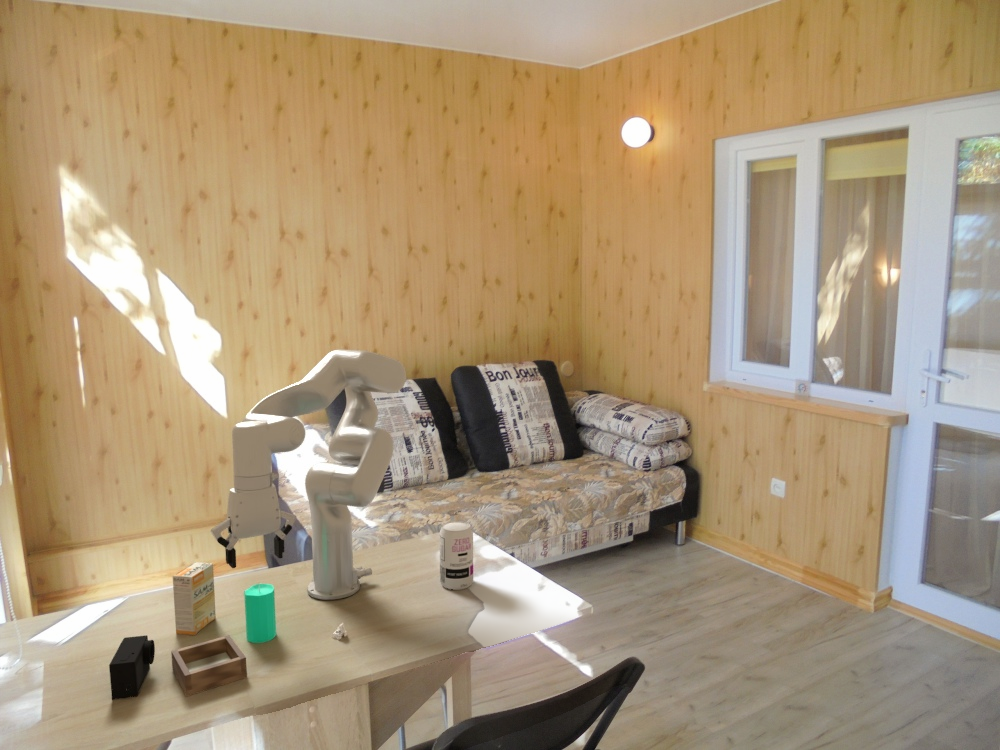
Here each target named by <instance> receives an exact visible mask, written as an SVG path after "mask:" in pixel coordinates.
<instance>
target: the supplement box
mask: <svg viewBox="0 0 1000 750" xmlns="http://www.w3.org/2000/svg"><path fill="white" fill-rule="evenodd" d="M214 575H215V574H214V563H210V562H196V561H195V562H193V563H191V564H190V565H189V566H187V567H185V568H184V569H182V570H181V571H179V572H177V573H175V574H173V575H172V586H173V587H172V588H173V603H174V620H175V633H176V634H181V635H190V636H195V635H196V634H198V632H200V631H201V630H202V629H204V628H205V627H206V626H207V625H209V624H210V623H211V622H213V621H214V620H215V619H217V617H216V616H217V615H216V599H215V598H216V596H215V578H214V577H215V576H214Z"/></svg>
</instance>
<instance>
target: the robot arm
mask: <svg viewBox="0 0 1000 750" xmlns="http://www.w3.org/2000/svg"><path fill="white" fill-rule="evenodd" d="M406 381H407V373H406V369H405V366H404V365H403V363H402V362H401V361H399V360H398V359H397V358H396V359H395V358H392V357H389V356H385V355H383V354H380V353H377V352H374V351H370V350H369V351H368V350H363V349H361V350H359V349H335V350H332V351H330V352H328V353H327V354H326V355H325V356H324V357H323V358H322V359H321V360H320V361H319V362H318V363H317V364H316V365H315V366H314V367H312V369H311V370H310V371H309V372H308V373H307V374H306V375H305V376H304V377H303V378H302V379H301V380H300V381H298V382H295V383H294V384H293V383H292V384H291V385H289V386H286V387H284V388H282V389H280V390H277V391H276V392H273V393H271V394H269V395H268V396H266V397H264V398H263V399H261V400H260V401H259V402H258V403H256V405H254V406H253V408H251V409H250V411H248V412H247V414H246V415H245V416H244V417H243V419H242V420H241V422H239V423H236V424H235V425H234V426H233V427H232V432H231V439H232V440H231V441H232V443H231V444H232V461H233V462H232V464H233V470H232V471H233V487H232V488H230V489H229V493H228V499H227V510H226V511H227V512H226V518H225V519H224V520H223V521H221V522H220V523H218V524H217V525H215V526H214V527H213V528H211V529H210V532H211V534H212V536H213V538H214V539H215V541H216V542H217V543H218V544H219V545H221V546H222V547H224V549H225V551H224V552H225V562H226V564H227V565H229V566H230V568H231V569H236V567H237V552H236V551H237V549H235V545H236V544H237V543H238V541H239V540H243V539H247V538H250V539H251V538H253V537H260V536H264V535H265V536H266V535H268V534H275V536H274V537H273V551H274V552H273V553H274V555H275V556H276V557H277V559H283V557H284V555H283V553H285V540H286V539H287V535H288V534H289V533H290V532H291V531H292V528H293V525H294V524H295V522H296V519H297V517H296V515H294V514H292V513H290V512H287V511H284V510H281V508H280V502H279V497H278V492H277V488H276V484H274V481H276V480H278V479H279V477H280V476H279V473H278V472H274V471H273V469H272V468H273V466H272V465H273V463H272V459H273V458H272V455H274V454H277V453H278V454H279V453H280V454H281V453H289V452H293V451H295V450H297V449H298V448H300V446H302V444H303V443H304V442H305V438H306V428H305V425H304V424H303V422H301V420H299V419H297V418H296V417H300V416H304V415H305V416H306V415H308V414H309V415H310V414H313V413H314V414H315V413H316V412H320V411H323V410H325V409H326V408H328V407H329V406H330V405H331V404H332V403H333V401H335V399H336V398H337V397H338V396H339V395H340V394H341V393H342V391H343V390H344V391H345V398H346V404H345V409H344V412H343V414H342V416H341V418H340V420H339V422H338V424H337V427H336V428H335V430H334V433H333V434H332V437H331V439H330V442H329V446H328V454H329V455H330V458H331V459H333V460H335V461H336V462H332V461H331V462H329V461H323V462H318V463H316V464H314V465H313V466H311V467H310V468H309V469H308V471H307V473H306V475H305V480H304V481H305V483H304V484H305V485H304V486H305V492H306V497H307V500H308V505H309V510H310V523H311V548H312V550H311V551H312V573H313V574H312V575H313V580H312V581H310V582H309V583H308V585H307V586H306V589H307V590H306V591H307V595H309V596H310V597H312V598H314V599H317V600H324V601H325V600H326V601H329V600H339V599H345V598H348V597H351V596H352V595H354V594H356V593H357V592H358V591H359V590H360V588H361V582H360V579H361V578H362V577H367V576H371V575H372V574H373V570H372V567H370V566H369V567H365V568H363V566H361V565H360V566H355V567H354V553H353V549H354V548H353V521H352V515H351V512H350V511H351V510H350V508H349V507H356V508H364V507H367V506H368V505H370V504H371V503H372V502H373V501H374V499H375V497H376V496H377V494H378V491H379V489H380V486H381V484H382V482H383V480H384V477H385V475H386V473H387V470H388V468H389V465H390V462H391V460H392V457H393V452H394V441H393V437H392V436H391V433H390V432H389V431H387V430H386V429H384V428H380V427H376V424H377V421H378V419H379V409H378V407H377V403H376V401H375V400H374V398H373V396H372V393H382V394H383V393H384V394H395V393H398V392H399V391H401V390H402V388H404V386H405V384H406ZM281 518H282V519H285V520H286V521H285V523H284V525H283V526H282V527H281V525H282V523H281V521H282V519H281ZM225 530H227V533H228V535H227V537H226V538H224V537H223V536H222V532H223V531H225Z"/></svg>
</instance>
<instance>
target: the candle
mask: <svg viewBox="0 0 1000 750" xmlns="http://www.w3.org/2000/svg"><path fill="white" fill-rule="evenodd" d="M243 594H244V595H243V596H244V610H245V628H246V629H245V632H246V639H247V641H248V642H249V643H252V644H263V643H266V642H270V641H271V640H273V639H275V637H276V635H277V626H276V625H277V623H276V604H275V603H276V602H275V601H276V600H275V599H276V598H275V587H274V585H273V584H271V583H258V584H257V583H256V584H252V585H251V586H250V587H248V588H247V589H245V590H244V593H243Z"/></svg>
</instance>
